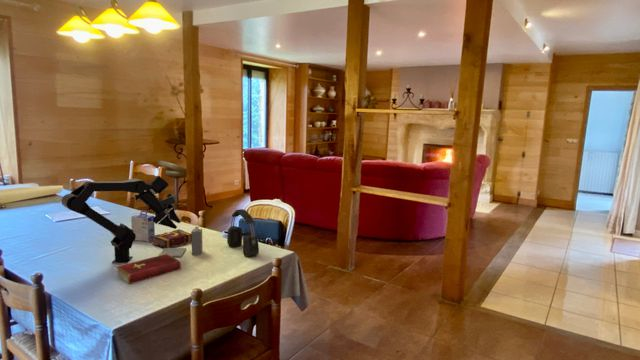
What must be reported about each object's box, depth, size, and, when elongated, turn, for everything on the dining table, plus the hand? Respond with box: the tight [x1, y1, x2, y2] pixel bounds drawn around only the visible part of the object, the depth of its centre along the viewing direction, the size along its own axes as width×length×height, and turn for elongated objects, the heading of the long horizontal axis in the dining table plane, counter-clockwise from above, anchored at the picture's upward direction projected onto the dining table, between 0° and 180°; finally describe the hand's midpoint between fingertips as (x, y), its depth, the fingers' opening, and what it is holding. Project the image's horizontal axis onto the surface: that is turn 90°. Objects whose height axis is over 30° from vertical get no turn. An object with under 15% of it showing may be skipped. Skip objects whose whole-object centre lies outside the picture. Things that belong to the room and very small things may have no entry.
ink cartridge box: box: [130, 210, 156, 242], centre depth 196 cm, size 10×6×14 cm, turn 78°
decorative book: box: [152, 229, 192, 249], centre depth 192 cm, size 11×16×5 cm
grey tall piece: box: [190, 225, 204, 256], centre depth 179 cm, size 4×4×13 cm
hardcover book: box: [115, 254, 182, 285], centre depth 157 cm, size 12×21×4 cm, turn 138°
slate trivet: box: [157, 247, 187, 258], centre depth 179 cm, size 10×10×1 cm
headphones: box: [226, 208, 260, 258], centre depth 184 cm, size 22×6×20 cm, turn 40°
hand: (178, 225), depth 177 cm, fingers open, 9 cm apart
